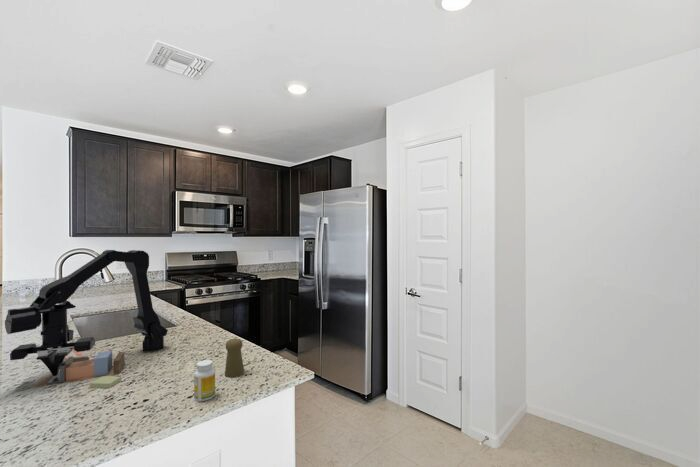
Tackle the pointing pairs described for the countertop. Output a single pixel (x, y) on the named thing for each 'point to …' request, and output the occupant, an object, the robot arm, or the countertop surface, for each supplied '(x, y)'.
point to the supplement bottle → (204, 381)
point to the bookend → (61, 373)
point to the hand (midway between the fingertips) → (55, 375)
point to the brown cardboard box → (80, 370)
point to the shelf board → (116, 369)
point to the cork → (234, 358)
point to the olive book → (105, 382)
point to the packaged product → (76, 356)
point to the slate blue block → (102, 363)
